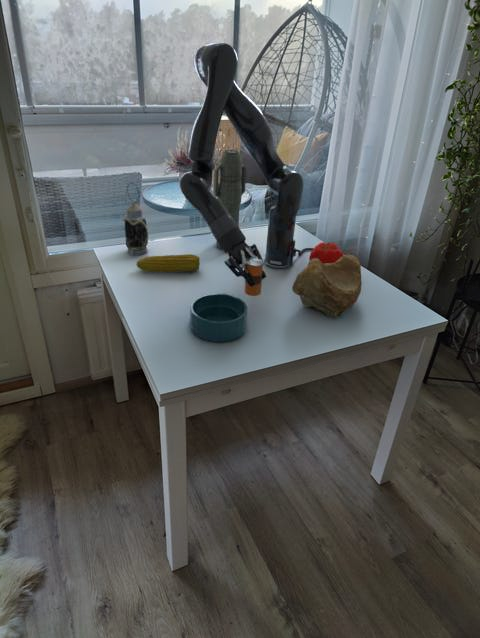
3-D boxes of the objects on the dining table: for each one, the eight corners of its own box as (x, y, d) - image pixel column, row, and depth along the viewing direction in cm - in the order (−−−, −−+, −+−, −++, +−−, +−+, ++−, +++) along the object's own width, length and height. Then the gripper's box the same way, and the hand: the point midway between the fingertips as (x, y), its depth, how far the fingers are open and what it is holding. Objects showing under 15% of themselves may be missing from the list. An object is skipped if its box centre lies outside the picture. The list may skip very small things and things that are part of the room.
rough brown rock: (316, 332, 124) (329, 287, 116) (282, 301, 135) (291, 258, 126) (374, 315, 136) (390, 272, 127) (338, 288, 146) (350, 247, 138)
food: (199, 267, 154) (199, 251, 151) (200, 274, 149) (200, 258, 146) (137, 267, 151) (136, 251, 148) (136, 275, 146) (135, 258, 143)
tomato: (307, 262, 163) (310, 238, 158) (340, 265, 162) (344, 241, 157) (308, 274, 154) (311, 250, 149) (343, 278, 153) (347, 253, 148)
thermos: (246, 247, 171) (252, 152, 152) (220, 253, 165) (224, 155, 147) (233, 239, 177) (238, 147, 159) (208, 244, 171) (210, 149, 153)
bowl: (237, 310, 130) (238, 291, 127) (252, 339, 118) (254, 319, 115) (186, 316, 126) (186, 296, 123) (196, 346, 114) (196, 325, 111)
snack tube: (258, 287, 135) (260, 257, 130) (263, 295, 131) (265, 264, 126) (242, 288, 134) (244, 258, 129) (247, 296, 130) (249, 266, 125)
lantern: (121, 250, 162) (115, 181, 149) (139, 245, 167) (135, 178, 154) (135, 258, 157) (130, 187, 144) (154, 252, 162) (150, 183, 149)
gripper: (219, 233, 121) (254, 285, 122) (248, 219, 131) (279, 267, 132) (204, 246, 126) (237, 296, 127) (233, 232, 136) (263, 278, 137)
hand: (258, 281), depth 130 cm, fingers closed on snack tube, 5 cm apart
